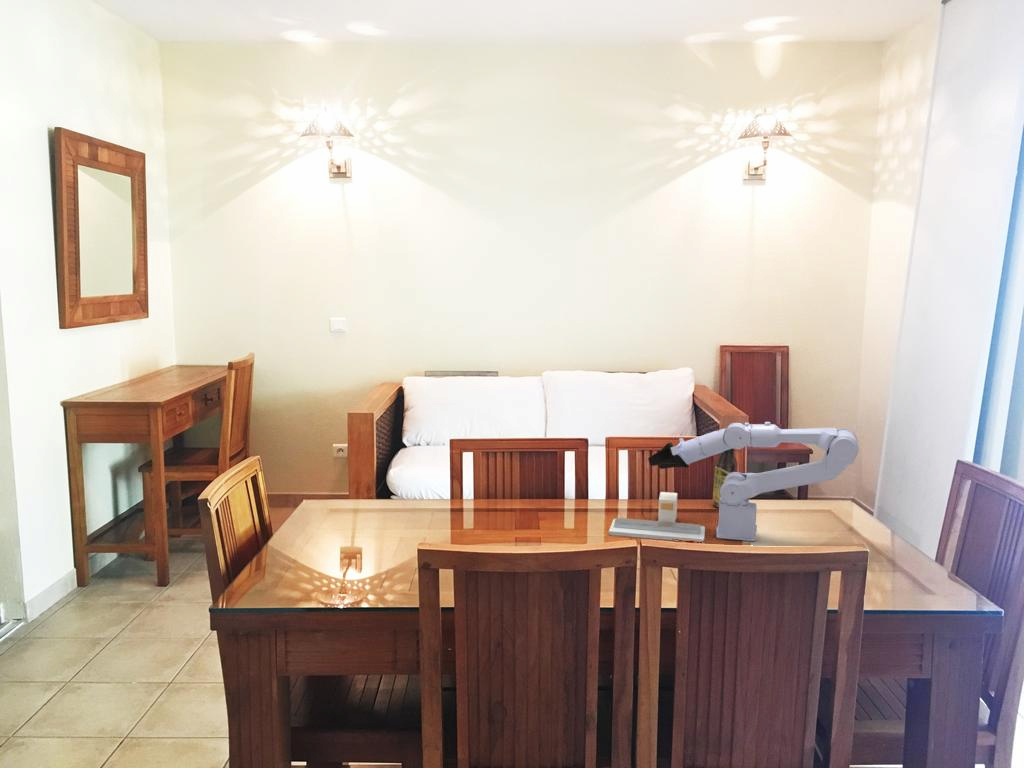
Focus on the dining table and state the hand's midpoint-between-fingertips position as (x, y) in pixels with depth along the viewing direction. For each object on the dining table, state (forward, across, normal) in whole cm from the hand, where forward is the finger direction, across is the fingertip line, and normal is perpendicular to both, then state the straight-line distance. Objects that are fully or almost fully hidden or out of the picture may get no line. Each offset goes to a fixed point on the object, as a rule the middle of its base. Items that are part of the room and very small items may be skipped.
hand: (654, 463), depth 210 cm
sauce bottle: (-8, -30, +12) cm, 33 cm away
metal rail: (+5, -1, +17) cm, 18 cm away
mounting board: (+5, -1, +17) cm, 18 cm away
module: (+4, -11, +14) cm, 18 cm away
